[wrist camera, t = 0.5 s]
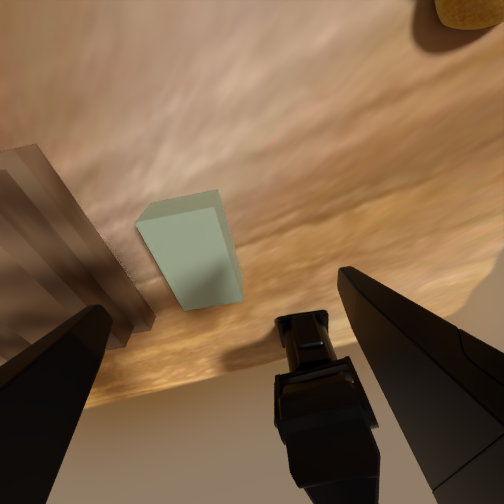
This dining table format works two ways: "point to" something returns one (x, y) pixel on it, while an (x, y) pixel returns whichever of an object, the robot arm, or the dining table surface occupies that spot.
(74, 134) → the dining table surface
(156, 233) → the pale green block
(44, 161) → the brown wooden stand
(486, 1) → the bread roll
